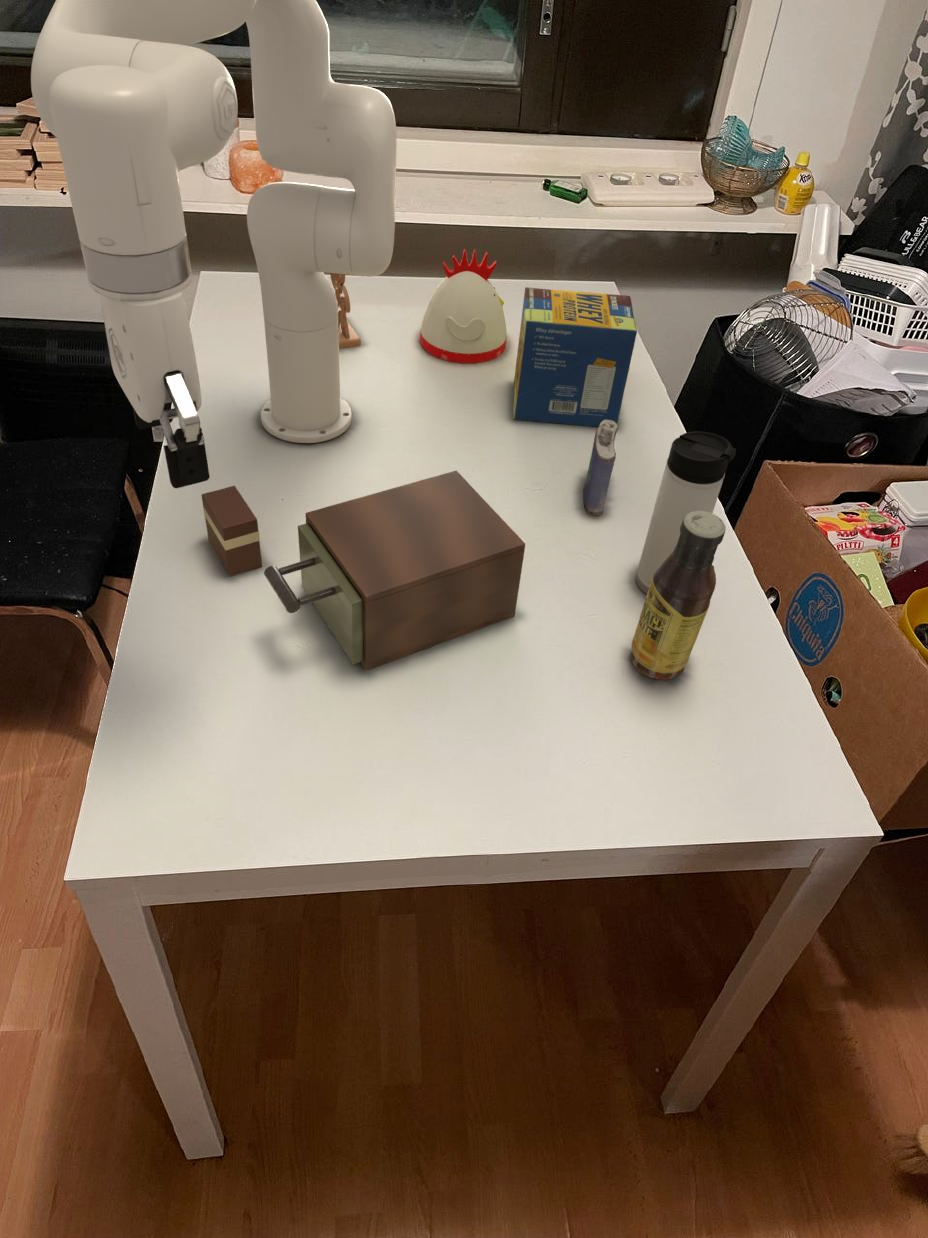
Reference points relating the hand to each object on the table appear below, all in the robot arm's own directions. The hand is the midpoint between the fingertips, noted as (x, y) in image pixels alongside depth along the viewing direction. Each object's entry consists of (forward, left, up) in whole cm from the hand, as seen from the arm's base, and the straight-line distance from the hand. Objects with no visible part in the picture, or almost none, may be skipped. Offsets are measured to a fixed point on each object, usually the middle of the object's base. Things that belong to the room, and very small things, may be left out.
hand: (172, 452), depth 81 cm
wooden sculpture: (-57, +42, -24) cm, 75 cm away
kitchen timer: (-47, +59, -24) cm, 79 cm away
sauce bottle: (+24, +42, -24) cm, 54 cm away
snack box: (-13, +8, -24) cm, 29 cm away
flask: (-4, +54, -24) cm, 59 cm away
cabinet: (+4, +23, -24) cm, 33 cm away
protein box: (-24, +63, -24) cm, 72 cm away
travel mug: (+14, +51, -24) cm, 58 cm away
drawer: (+3, +18, -23) cm, 30 cm away
